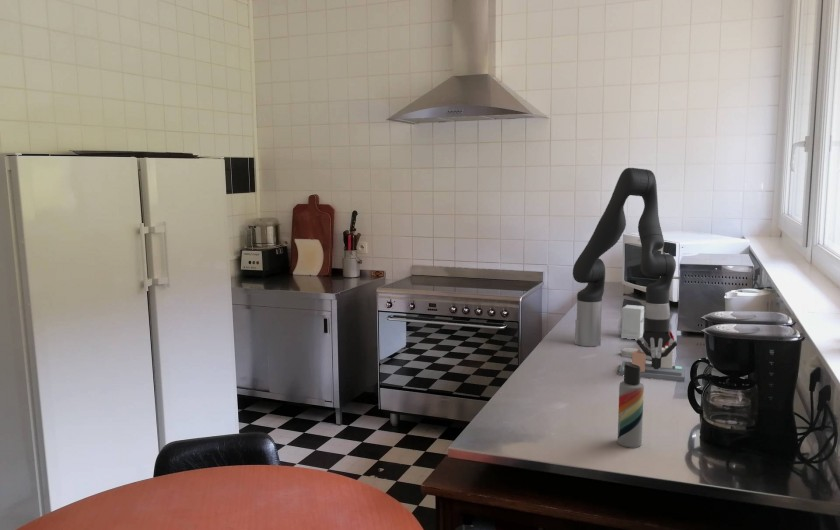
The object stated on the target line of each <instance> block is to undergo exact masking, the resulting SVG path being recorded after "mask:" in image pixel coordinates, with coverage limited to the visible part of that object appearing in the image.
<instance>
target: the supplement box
mask: <svg viewBox="0 0 840 530" xmlns="http://www.w3.org/2000/svg"><path fill="white" fill-rule="evenodd" d="M644 313H645V306H643V305H633V304H626V305H625V306H623V307H622V309H621V331H620V333H621V335H620V339H623V338H627V339H626V340H631V339H635V340H634V341H637V339H639V338H641V337H642V336H643V333H644V328H645V315H644Z"/></svg>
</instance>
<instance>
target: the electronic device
mask: <svg viewBox="0 0 840 530" xmlns="http://www.w3.org/2000/svg"><path fill="white" fill-rule="evenodd" d="M638 349H639V348H632V347H625V348H621V351H620V352H621V353H620V355H621V357H624V356H625V357H624V358H629V357H632V352H633V351H638ZM640 349H641V348H640ZM648 350H649V351H651V349H648ZM655 350H656V358H657V351H658V347H655ZM641 351H643V350H642V349H641ZM647 360H648V361H652V358H651V357H650V356H647V355H646V358H645V361H647Z"/></svg>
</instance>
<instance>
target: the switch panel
mask: <svg viewBox="0 0 840 530" xmlns="http://www.w3.org/2000/svg"><path fill="white" fill-rule="evenodd" d="M626 364H632V361H627V360H626V361H625V360H622V361H621V365H620V367H619V370H618V376H622V375H624V366H625V365H626ZM641 377H643V379H651V378H653V379H652V380H661V379H662V380H664V381H671V382H672V381H673V382H681V381H685V380H686V379H685V377H686V367H685V366H679V365H672V369H670V368H659V369H654V367H652V363H648V362H647V363H646V362H645V372H640V378H641ZM644 377H645V378H644ZM662 380H661V381H662Z"/></svg>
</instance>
